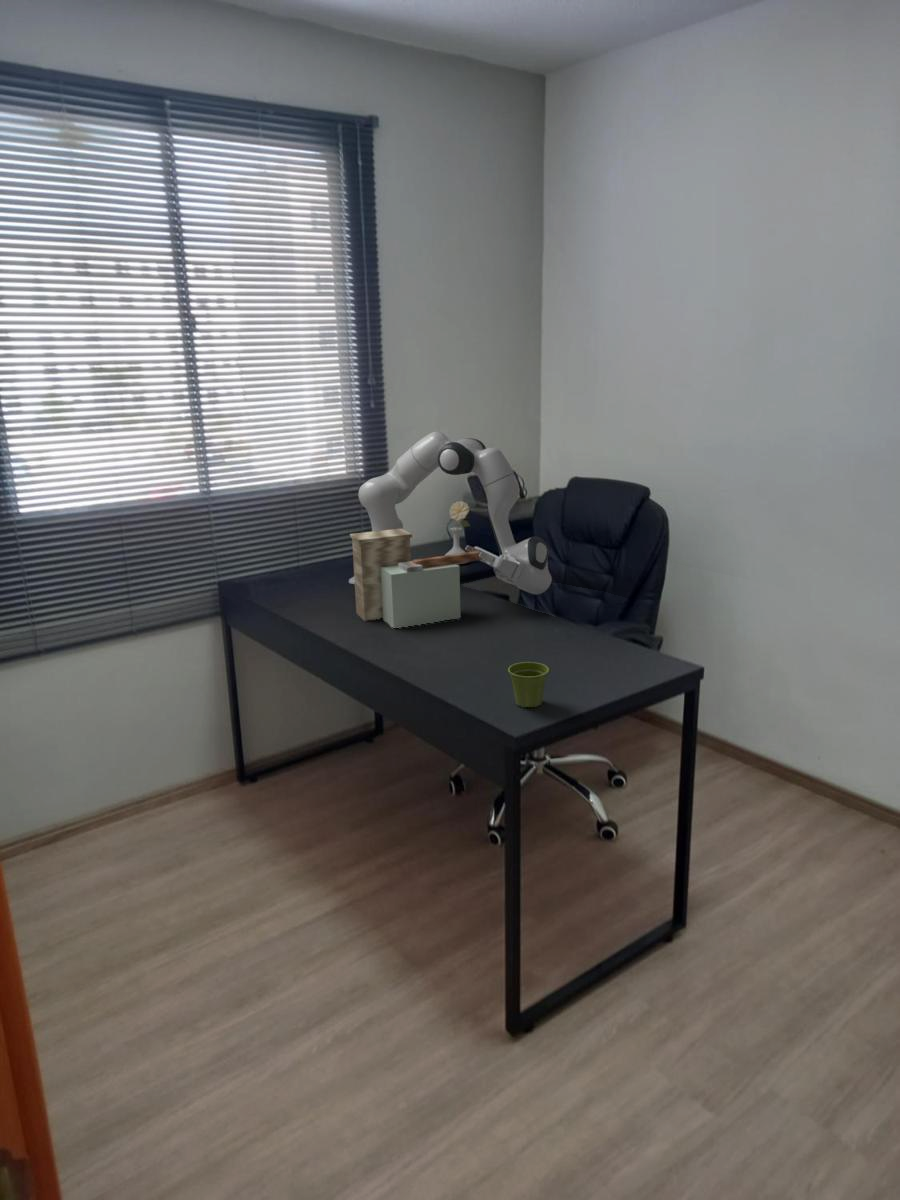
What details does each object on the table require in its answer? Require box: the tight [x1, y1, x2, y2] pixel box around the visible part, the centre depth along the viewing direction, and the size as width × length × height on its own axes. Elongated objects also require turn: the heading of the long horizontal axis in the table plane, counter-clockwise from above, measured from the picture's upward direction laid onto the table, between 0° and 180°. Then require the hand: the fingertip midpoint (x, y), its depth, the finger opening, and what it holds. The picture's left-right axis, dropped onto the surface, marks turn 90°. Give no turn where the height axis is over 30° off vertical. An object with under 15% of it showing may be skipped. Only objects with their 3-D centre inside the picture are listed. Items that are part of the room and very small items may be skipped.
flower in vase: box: [443, 500, 471, 565], centre depth 324 cm, size 13×11×25 cm
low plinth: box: [381, 564, 462, 629], centre depth 257 cm, size 22×10×17 cm, turn 113°
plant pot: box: [507, 661, 550, 708], centre depth 195 cm, size 9×9×9 cm
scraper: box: [398, 551, 483, 573], centre depth 257 cm, size 27×7×2 cm, turn 117°
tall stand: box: [349, 528, 413, 622], centre depth 263 cm, size 17×10×26 cm, turn 113°
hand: (473, 550), depth 261 cm, fingers open, 8 cm apart
